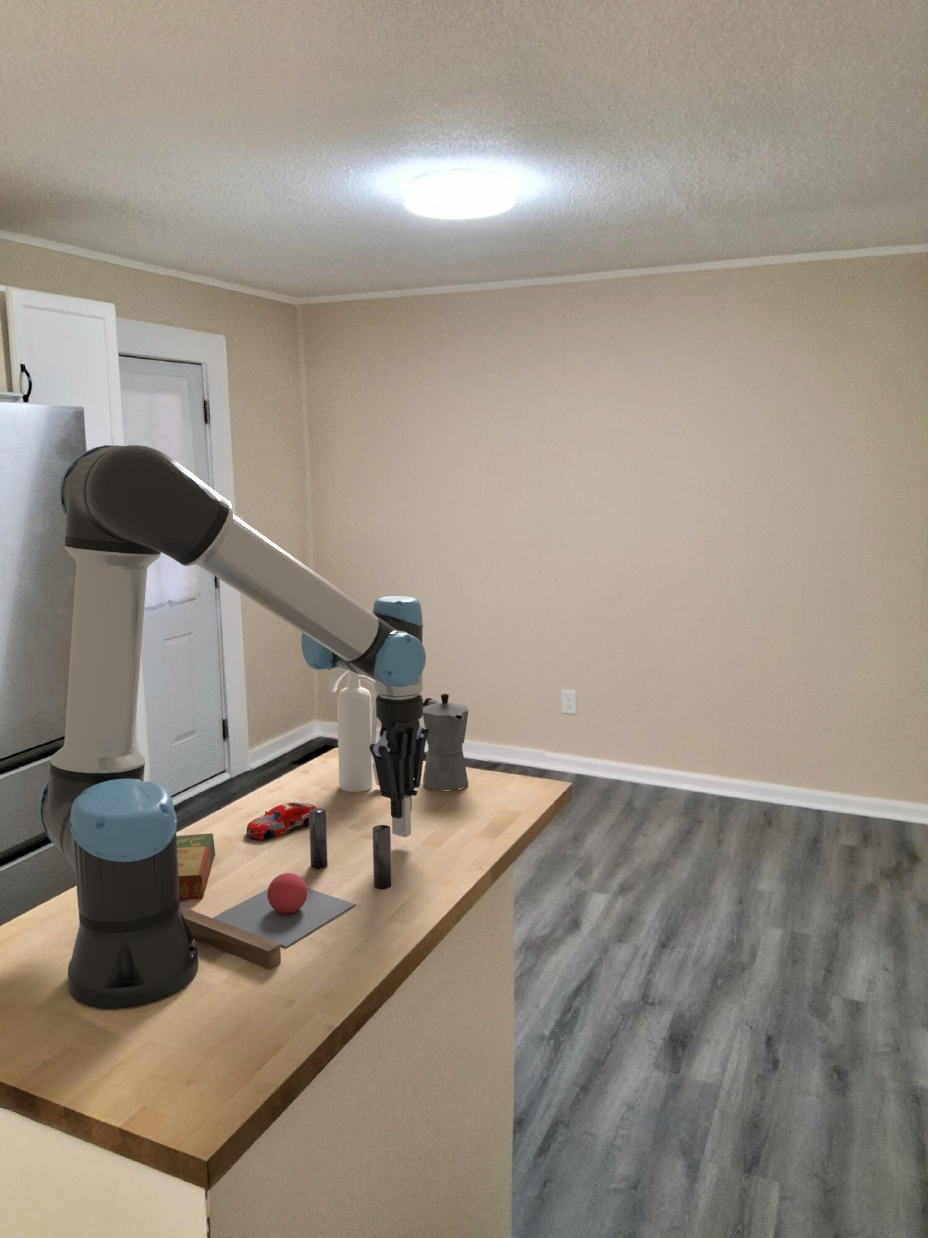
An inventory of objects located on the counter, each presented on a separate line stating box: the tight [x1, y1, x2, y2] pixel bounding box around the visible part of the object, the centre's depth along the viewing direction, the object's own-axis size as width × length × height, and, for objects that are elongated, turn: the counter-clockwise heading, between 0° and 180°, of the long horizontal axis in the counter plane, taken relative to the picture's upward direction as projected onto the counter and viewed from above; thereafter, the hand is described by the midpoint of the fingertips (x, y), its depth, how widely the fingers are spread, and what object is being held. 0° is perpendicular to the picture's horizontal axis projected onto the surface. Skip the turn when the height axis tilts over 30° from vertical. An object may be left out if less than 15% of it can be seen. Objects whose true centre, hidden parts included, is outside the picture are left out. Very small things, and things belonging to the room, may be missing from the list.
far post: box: [308, 807, 329, 870], centre depth 146 cm, size 3×3×9 cm
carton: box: [176, 832, 216, 902], centre depth 143 cm, size 8×16×4 cm, turn 9°
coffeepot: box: [422, 693, 469, 792], centre depth 183 cm, size 15×9×18 cm, turn 29°
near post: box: [372, 824, 392, 891], centre depth 139 cm, size 3×3×9 cm
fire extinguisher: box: [328, 668, 379, 793], centre depth 180 cm, size 7×12×25 cm, turn 69°
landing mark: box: [212, 887, 357, 949], centre depth 132 cm, size 14×14×1 cm
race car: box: [246, 802, 317, 841], centre depth 162 cm, size 13×5×4 cm, turn 132°
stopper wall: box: [181, 907, 282, 970], centre depth 123 cm, size 2×18×2 cm, turn 56°
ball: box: [267, 872, 308, 914], centre depth 132 cm, size 6×6×6 cm
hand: (401, 834), depth 154 cm, fingers closed
